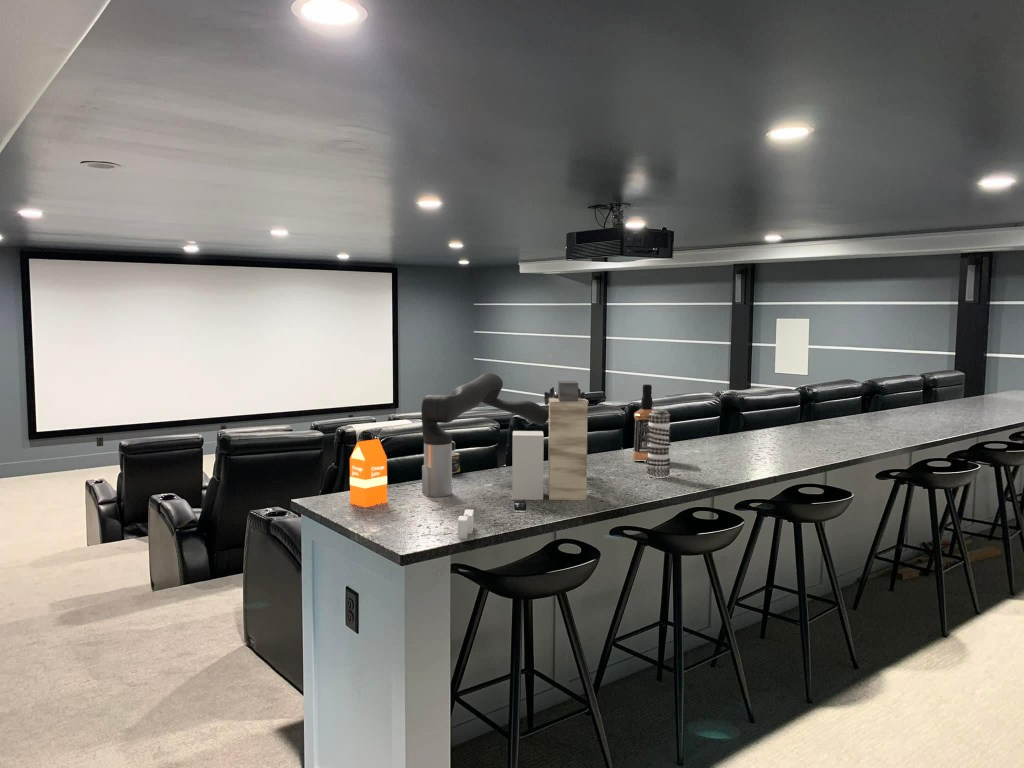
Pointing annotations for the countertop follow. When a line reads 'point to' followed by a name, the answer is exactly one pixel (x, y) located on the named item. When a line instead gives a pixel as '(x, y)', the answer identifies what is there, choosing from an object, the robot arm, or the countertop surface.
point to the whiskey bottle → (642, 425)
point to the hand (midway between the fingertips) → (565, 389)
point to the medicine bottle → (455, 460)
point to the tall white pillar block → (527, 465)
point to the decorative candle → (658, 443)
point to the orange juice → (368, 474)
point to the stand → (567, 450)
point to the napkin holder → (466, 524)
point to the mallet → (567, 390)
